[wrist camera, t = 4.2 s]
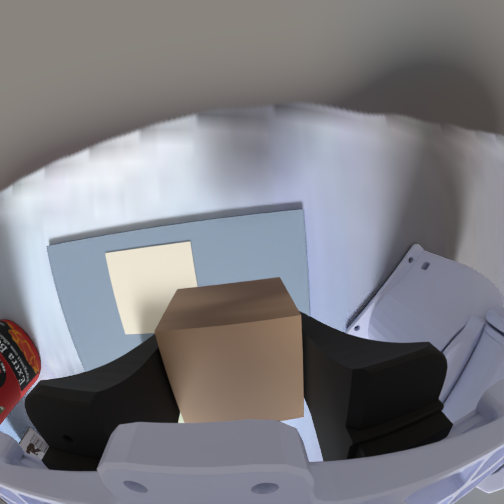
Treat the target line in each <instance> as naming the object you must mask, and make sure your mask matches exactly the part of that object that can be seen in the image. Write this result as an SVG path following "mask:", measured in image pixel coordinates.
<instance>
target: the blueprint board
mask: <svg viewBox="0 0 504 504" xmlns="http://www.w3.org/2000/svg"><path fill="white" fill-rule="evenodd" d="M46 247H47V252H48V257H49V262H50V266H51V270H52V275H53V279H54V283H55V287H56V290H57V294H58V298H59V301H60V304H61V308H62V311H63V314H64V317H65V320H66V323H67V326H68V329H69V332H70V335H71V338H72V340H73V343H74V346H75V348H76V351H77V353H78V356H79V358H80V361H81V363H82V365H83V368H84V370H85V372H87V371H90V370H92V369H95V368H97V367H100V366H103V365H105V364H107V363H109V362H111V361H113V360H115V359H117V358H119V357H121V356H123V355H124V354H126V353H128V352H129V351H131V350H132V349H134V348H135V347H137V346H138V345H140V344H141V343H143V342H144V341H145V340H147V339H148V338H149V337H151V336H152V335H154V334H155V332H154V331H155V329H156V327H157V325H158V323H159V321H160V320H161V318H162V316H163V314H164V312H165V310H166V308H167V307H168V305H169V303H170V301H171V299H172V298H173V296H174V294H175V292H176V290H177V289H183V288H192V287H201V286H210V285H219V284H227V283H236V282H244V281H252V280H260V279H267V278H275V277H280V278H281V280H282V282H283V284H284V285H285V287H286V289H287V291H288V292H289V294H290V296H291V298H292V300H293V301H294V303H295V305H296V307H297V308H298V310H299V311H301V312H303V313H305V314H307V315H308V316H310V310H309V288H308V269H307V254H306V240H305V227H304V215H303V209H297V210H287V211H277V212H268V213H259V214H250V215H241V216H233V217H225V218H217V219H209V220H202V221H194V222H187V223H180V224H173V225H166V226H159V227H152V228H146V229H139V230H133V231H127V232H121V233H115V234H109V235H103V236H97V237H92V238H86V239H81V240H75V241H70V242H64V243H59V244H54V245H49V246H46Z"/></svg>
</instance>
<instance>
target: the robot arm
mask: <svg viewBox="0 0 504 504" xmlns="http://www.w3.org/2000/svg"><path fill="white" fill-rule="evenodd" d="M410 257H411V260H410V262H408V261H409V258H410ZM299 312H300V314H301V323H302V349H303V391H304V398H305V401H306V403H307V405H308V408H309V411H310V413H311V416H312V420H313V423H314V427H315V430H316V434H317V438H318V441H319V445H320V449H321V453H322V457H323V462H309V460H308V457H307V454H306V450H305V447H304V443H303V440H302V439H301V437H300V435H299V433H298V431H297V429H296V428H294V427H291V426H289V425H287V424H284V423H282V422H280V421H278V420H260V419H245V420H235V421H222V422H204V423H178V421H179V416H180V410H179V407H178V404H177V401H176V399H175V396H174V393H173V390H172V387H171V384H170V381H169V378H168V375H167V372H166V369H165V366H164V363H163V360H162V356H161V353H160V350H159V346H158V343H157V339H156V336H155V334H154V335H152V336H151V337H149V338H148V339H147V340H145V341H144V342H143V343H141V344H140V345H138V346H137V347H135V348H134V349H132V350H131V351H129V352H128V353H126V354H124V355H123V356H121V357H119V358H117V359H115V360H113V361H111V362H109V363H107V364H105V365H103V366H100V367H97V368H95V369H92V370H90V371H87V372H83V373H80V374H76V375H72V376H68V377H63V378H57V379H49V380H41V381H39V383H38V384H37V385H36V386H35V387H34V388H33V390H32V391H31V392H30V393H29V394H28V395H27V397H26V399H25V408H26V411H27V414H28V416H29V418H30V420H31V422H32V423H33V425H34V426H35V428H36V429H37V431H38V432H39V433H40V435H41V436H42V438H43V439H44V440H45V442H46V443H47V444H48V446H49V448H48V449H47V451H46V453H45V455H44V456H43V458H42V459H40V458H38V457H35V456H33V455H30V454H28V453H25V452H24V450H23V449H22V447H21V446H20V445H19V443H18V442H17V441H16V440H15V439H14V438H13V437H11V436H9V435H7V434H5V433H3V432H1V431H0V497H1V498H2V499H3V500H4V501H6V502H7V503H8V504H453V503H454V502H456V501H457V500H459V499H460V498H462V497H463V496H464V495H466V494H467V493H468V492H470V491H471V490H472V489H474V488H475V487H477V488H479V489H481V490H483V491H484V492H486V493H491V492H494V491H498V490H500V489H503V488H504V297H503V295H502V294H501V292H500V291H499V290H498V288H497V287H496V286H495V285H494V284H493V283H492V282H491V281H490V280H489V279H488V278H486V277H485V276H484V275H482V274H481V273H479V272H478V271H476V270H474V269H473V268H471V267H468V266H466V265H463V264H461V263H458V262H455V261H453V260H450V259H447V258H444V257H442V256H439V255H436V254H433V253H430V252H427V251H425V250H424V249H423V248H422V247H421V246H420V245H419V244H414V245H413V246H412V247H411V248H410V250H409V251H408V253H407V254H406V255H405V257H404V258H403V260H402V261H401V262H400V264H399V265H398V267H397V268H396V269H395V271H394V272H393V273H392V275H391V276H390V277H389V279H388V280H387V281H386V282H385V284H384V285H383V286H382V288H381V289H380V290H379V291H378V293H377V294H376V295H375V296H374V298H373V299H372V300H371V301H370V303H369V304H368V305H367V306H366V307H365V309H364V310H363V311H362V312H361V313H360V315H359V316H358V317H357V318H356V319H355V320H354V322H353V323H352V324H351V325H350V326H349V327H348V328H347V330H346V333H344V332H341V331H339V330H336V329H334V328H332V327H329V326H327V325H325V324H323V323H321V322H319V321H317V320H316V319H314V318H312V317H310V316H308V315H307V314H305V313H303V312H301V311H299ZM357 325H358V327H357V328H356V329H354V328H355V326H357Z"/></svg>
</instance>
